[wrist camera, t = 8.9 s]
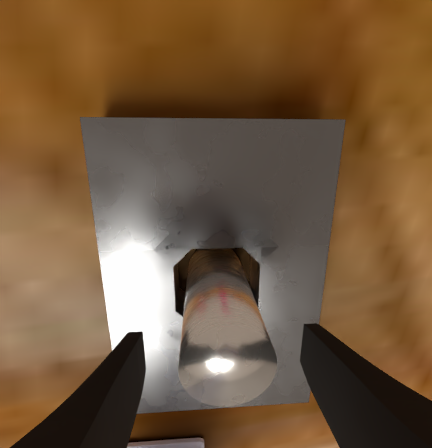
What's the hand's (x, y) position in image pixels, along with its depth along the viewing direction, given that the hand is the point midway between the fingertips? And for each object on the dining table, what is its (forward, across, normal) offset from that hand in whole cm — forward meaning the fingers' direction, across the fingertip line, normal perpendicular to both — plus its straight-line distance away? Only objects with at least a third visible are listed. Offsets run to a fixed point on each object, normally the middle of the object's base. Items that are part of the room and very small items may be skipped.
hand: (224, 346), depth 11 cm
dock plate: (+8, 0, 0) cm, 8 cm away
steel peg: (+8, 0, 0) cm, 8 cm away
